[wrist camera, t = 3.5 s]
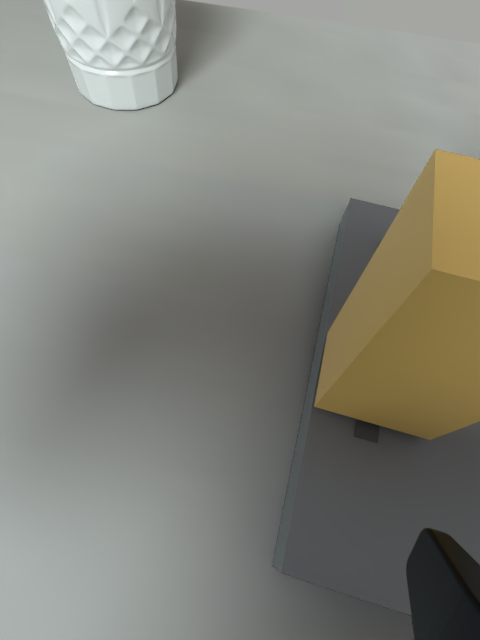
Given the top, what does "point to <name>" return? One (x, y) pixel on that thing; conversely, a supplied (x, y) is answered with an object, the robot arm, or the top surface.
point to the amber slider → (415, 314)
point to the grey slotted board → (370, 469)
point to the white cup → (119, 49)
